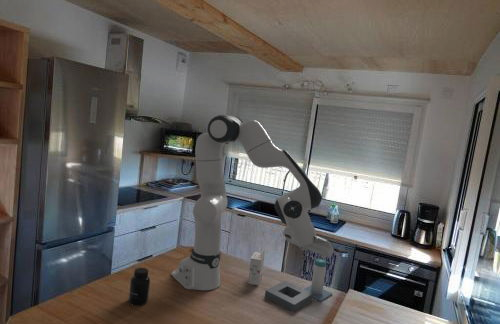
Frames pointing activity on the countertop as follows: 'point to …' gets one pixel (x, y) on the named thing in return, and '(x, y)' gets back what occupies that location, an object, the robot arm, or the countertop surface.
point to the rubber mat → (319, 297)
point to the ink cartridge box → (256, 268)
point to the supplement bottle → (139, 287)
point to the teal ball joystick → (318, 276)
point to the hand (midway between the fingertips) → (313, 252)
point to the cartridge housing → (290, 303)
